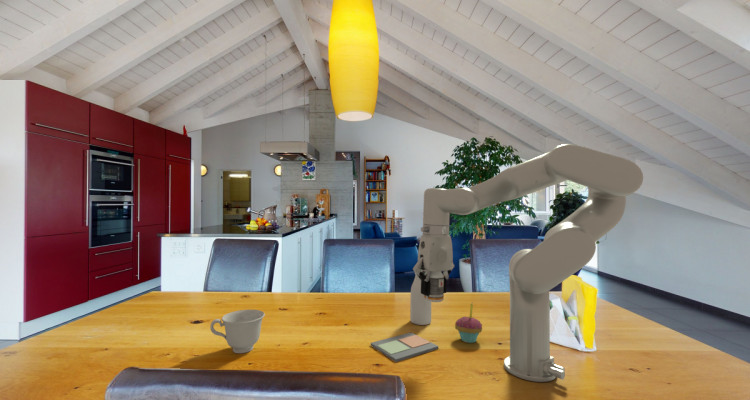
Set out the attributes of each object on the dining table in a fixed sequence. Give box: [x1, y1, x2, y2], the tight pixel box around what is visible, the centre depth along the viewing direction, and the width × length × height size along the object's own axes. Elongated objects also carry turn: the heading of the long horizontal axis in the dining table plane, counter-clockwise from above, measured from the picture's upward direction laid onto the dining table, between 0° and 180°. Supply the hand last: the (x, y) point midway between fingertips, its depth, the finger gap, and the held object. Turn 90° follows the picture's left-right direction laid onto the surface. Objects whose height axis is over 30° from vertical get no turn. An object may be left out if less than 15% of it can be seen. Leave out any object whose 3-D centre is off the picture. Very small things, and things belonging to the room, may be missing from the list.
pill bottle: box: [424, 271, 445, 303], centre depth 95 cm, size 6×6×10 cm
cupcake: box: [454, 303, 483, 344], centre depth 106 cm, size 9×8×12 cm
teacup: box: [210, 309, 265, 354], centre depth 98 cm, size 12×15×10 cm
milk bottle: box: [409, 269, 432, 326], centre depth 123 cm, size 8×8×20 cm
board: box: [370, 332, 439, 363], centre depth 100 cm, size 13×16×1 cm
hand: (433, 292), depth 95 cm, fingers closed on pill bottle, 5 cm apart
